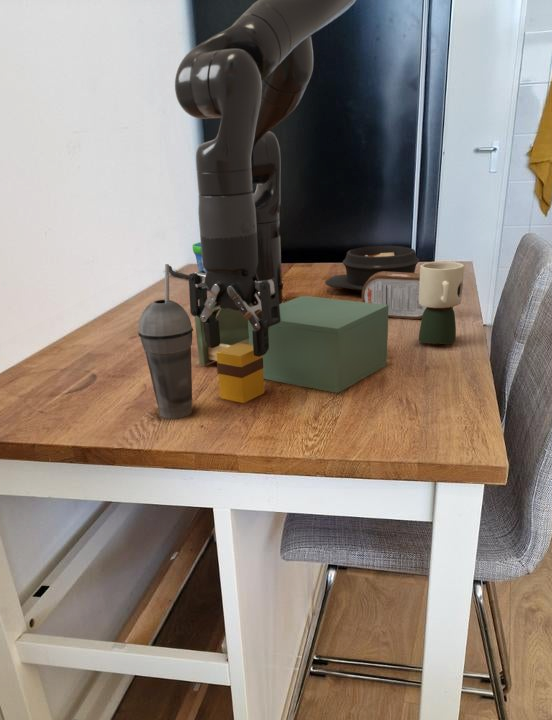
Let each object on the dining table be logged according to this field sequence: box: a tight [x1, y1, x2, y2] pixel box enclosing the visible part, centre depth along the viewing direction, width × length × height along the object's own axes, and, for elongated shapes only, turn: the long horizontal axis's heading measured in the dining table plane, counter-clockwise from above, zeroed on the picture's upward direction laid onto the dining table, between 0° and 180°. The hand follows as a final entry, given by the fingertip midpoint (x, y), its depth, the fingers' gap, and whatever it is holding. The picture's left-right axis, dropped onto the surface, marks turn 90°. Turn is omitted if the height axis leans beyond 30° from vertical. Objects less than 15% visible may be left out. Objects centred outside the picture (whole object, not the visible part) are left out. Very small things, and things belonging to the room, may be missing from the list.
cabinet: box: [248, 295, 389, 394], centre depth 110 cm, size 16×15×10 cm
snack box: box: [216, 343, 265, 404], centre depth 103 cm, size 5×4×7 cm
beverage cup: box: [137, 263, 194, 420], centre depth 95 cm, size 7×7×20 cm
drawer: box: [194, 303, 253, 366], centre depth 117 cm, size 17×15×8 cm
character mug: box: [418, 261, 465, 347], centre depth 119 cm, size 11×7×13 cm, turn 179°
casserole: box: [324, 245, 420, 294], centre depth 159 cm, size 25×19×8 cm
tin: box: [361, 271, 427, 320], centre depth 137 cm, size 15×3×8 cm, turn 65°
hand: (236, 350), depth 101 cm, fingers open, 8 cm apart
